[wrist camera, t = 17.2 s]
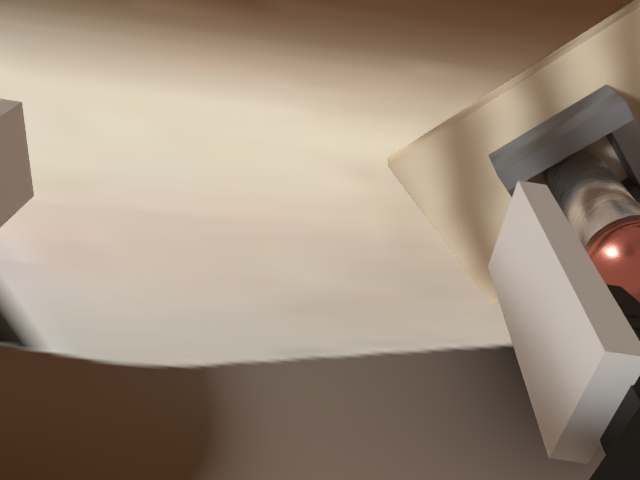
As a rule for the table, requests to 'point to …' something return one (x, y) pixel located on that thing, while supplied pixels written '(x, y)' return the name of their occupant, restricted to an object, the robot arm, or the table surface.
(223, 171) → the table surface
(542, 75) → the socket
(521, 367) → the robot arm
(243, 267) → the table surface
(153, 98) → the table surface
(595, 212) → the pin
